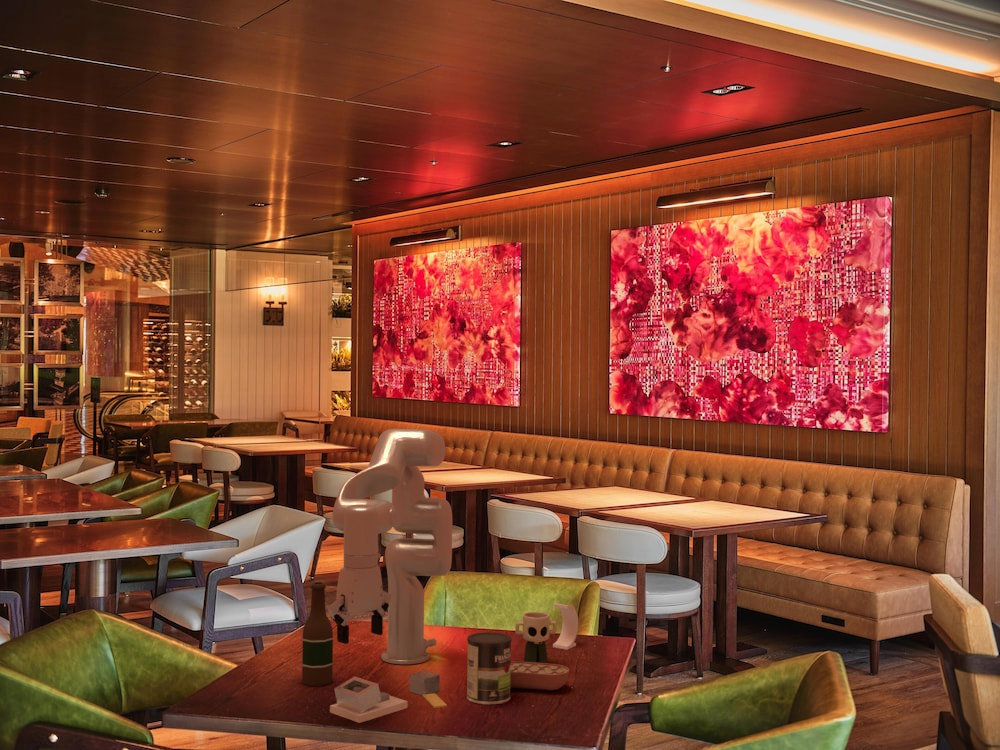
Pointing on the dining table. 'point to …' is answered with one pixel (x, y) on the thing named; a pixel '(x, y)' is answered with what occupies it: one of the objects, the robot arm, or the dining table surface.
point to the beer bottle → (317, 641)
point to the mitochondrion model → (538, 675)
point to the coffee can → (489, 668)
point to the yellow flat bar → (434, 700)
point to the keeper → (379, 709)
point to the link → (357, 695)
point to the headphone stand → (567, 627)
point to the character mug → (536, 635)
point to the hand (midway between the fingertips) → (360, 638)
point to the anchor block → (424, 682)
